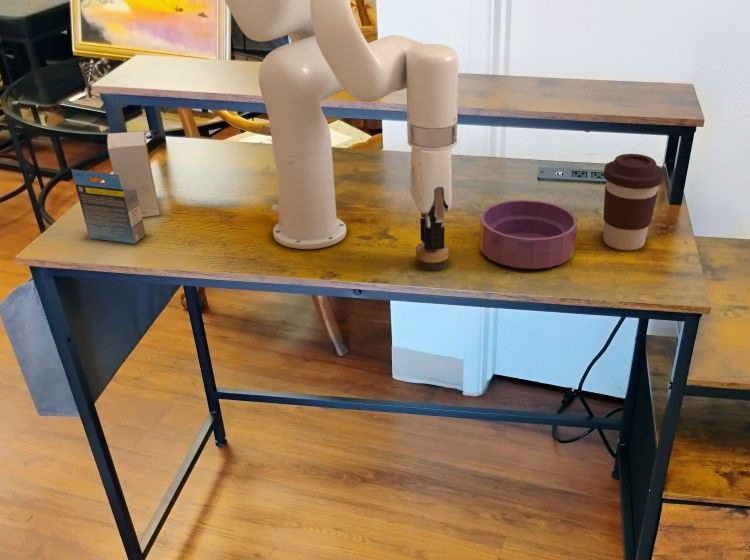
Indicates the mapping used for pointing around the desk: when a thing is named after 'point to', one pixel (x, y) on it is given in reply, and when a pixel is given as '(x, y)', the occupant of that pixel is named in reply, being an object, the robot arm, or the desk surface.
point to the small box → (134, 168)
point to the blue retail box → (109, 208)
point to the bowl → (527, 234)
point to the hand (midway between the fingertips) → (432, 244)
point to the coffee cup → (630, 200)
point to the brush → (432, 256)
